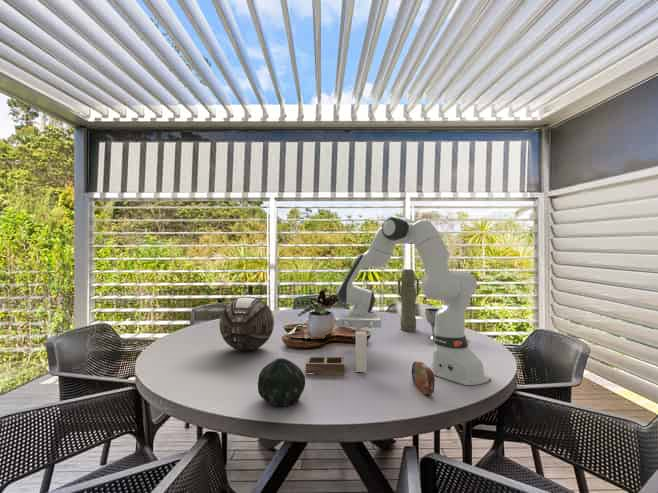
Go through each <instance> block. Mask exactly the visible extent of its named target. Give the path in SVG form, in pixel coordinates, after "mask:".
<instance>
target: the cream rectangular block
mask: <svg viewBox="0 0 658 493" xmlns="http://www.w3.org/2000/svg"><path fill="white" fill-rule="evenodd" d="M367 336H368V334H367V332H366V331H364V330H363V331H361V330H360V331H359V330H355V373H356V372H367V370H368V369H367V366H368V365H367V360H368V359H367V358H368V357H367V354H368V353H367V348H368V347H367V346H368V344H367V342H368V341H367V340H368V338H367Z"/></svg>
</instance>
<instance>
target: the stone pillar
mask: <svg viewBox="0 0 658 493" xmlns="http://www.w3.org/2000/svg"><path fill="white" fill-rule="evenodd" d="M415 274H416V273H415V271H414V270H413V269H410V268H409V269H403V270H402V273H401V277H399V279H397V295H398V296H400V301H401V308H400V310H401V312H400V313H401V315H400V331H402V332H409V333H410V332H411V333H412V332H413V333H414V332H416V331H417V318H416V301H417V296H419V295H420V294H419V293H420V281H419V280H420V279H419V278H418V277H416V275H415ZM415 284H416V285H415Z"/></svg>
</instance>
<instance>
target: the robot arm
mask: <svg viewBox="0 0 658 493" xmlns="http://www.w3.org/2000/svg"><path fill="white" fill-rule="evenodd" d="M400 243H401V244H408V245H409V244H410V245H414V246H415V248H416V251H417V253H418V255H419V257H420V260H421V262H422V265H423V269H424V277H423V279H422V281H421V291H422V293H423V295H424V296H425V297H426V299H429V300H432V301H437V302H440V301H442V303H441V305H440V306H439V308H438V309H439V310H438V311H437V312H436V314H435V327H434V340H433V343H434V347H433V353H432V362H431V366H430V369H431V370H432V371H433V374H434V376H437V377H439V378H442V379H446V380H447V381H452V382H455V383H457V384H459V385H464V386H475V385H477V386H478V385H481V384H485V383H488V382H489V380H490V381H491V377H492V376H491V375H489V374H487V373H485V372H484V364H483V361H482V359H480V357H478V355H476V353H475V352H474V351H473V350H472V349H471V348H470V347H469V344H470V343H471V339H467V337H466V335H465V328H466V326H465V325H466V324H465V323H466V320H465V319H466V313H467V312H466V311H467V308H468V306H469V303H470V299H471V297H472V296H473V295H474V293H475V292H476V290H477V286H478V283H477V279H476V277H475V276H474V275H473V274H472V273H470V272H467V271H463V270H453V271H451V270H450V269H449V266H448V260H449V259H450V252H449V250H448V248H447V246H446V243H445V242H444V240H443V238H442V236H441V235H440V233H439V231H438V230H437V228H436V227H435V226H434V225H433V223H432V222H431V221H430V220H428V219H420V220H419V219H418V220H417V221H416V220H412V219H408V218H407V217H400V216H390V217H389V216H388V217H387V218H386V219H384V221H383V222H382V225H381V226H380V227H379V228H378V229H377V231H376V232H375V234H374V235H373V237H372V240H371V243H370V244H369V247H368V249H367V250H366V251H365V252H364V253H360V254H359V255H358V256H357V257H356V259H355V261H354V262H353V264H352V266H351V268H350V269H349V271H348V273H347V274H346V276H345V278H344V280H343V281H342V283H341V284H340V285H339V286H338V288H337V291H336V298H337V300H338V301H339V302H340V303H343V304H348V305H351V306H350V308H349V310H348V312H347V315H338V316H336V318H334V321H335V326H336V327H338V328H346V329H347V328H348V329H349V328H353V329H355V330H361V329H365V328H368V329H373V328H375V329H376V328H378V329H380V328H382V319H381V317H380V316H379V315H377V312H375V311H373V308H374V305H375V301H376V300H375V299H376V297H375V294H374V292H373V290H370V289H367V288H365V287H361V286H358V285H355V284H353V283H354V280H355V279H356V277H357V275H358V273H359V272H360V271H362V270H363V269H368V268H369V269H372V268H374V269H375V268H377V269H378V268H381V267H384V266H386V265H387V264H388V263H389V262H390V259H391V258H392V255H393V253H394V250H395V248H396V245H398V244H400Z"/></svg>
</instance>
